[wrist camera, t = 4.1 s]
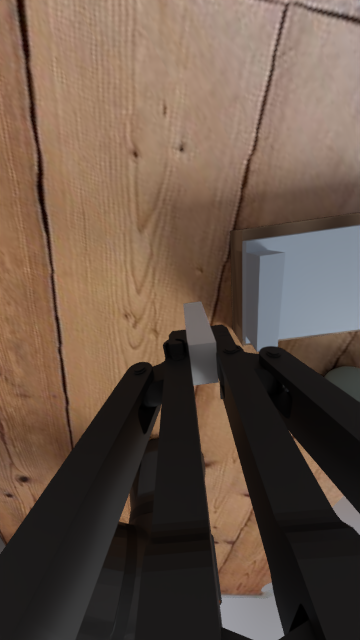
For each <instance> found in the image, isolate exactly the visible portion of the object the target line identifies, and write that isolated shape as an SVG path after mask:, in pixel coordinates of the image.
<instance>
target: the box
mask: <svg viewBox="0 0 360 640" xmlns="http://www.w3.org/2000/svg"><path fill="white" fill-rule="evenodd" d="M353 225H360V213H353V214H346V215H339V216H332V217H325V218H318V219H311V220H304V221H297V222H289V223H282V224H275V225H268V226H261V227H254V228H247V229H240V230H233V231H230V248H231V289H232V329H233V331H234V333H235V334H236V336H237V337H238V339H239V341H240V342H241V344H242V346H244V345H252V344H251V343H247V344H246V343H245V342H244V340H243V339H242V241H247V240H254V239H261V238H268V237H275V236H282V235H289V234H296V233H303V232H311V231H318V230H325V229H332V228H339V227H346V226H353ZM355 331H360V329H359V330H351V331H343V332H335V333H327V334H319V335H311V336H303V337H295V338H287V339H279V340H278V341H284V340H292V339H300V338H308V337H316V336H324V335H332V334H340V333H347V332H355Z"/></svg>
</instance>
